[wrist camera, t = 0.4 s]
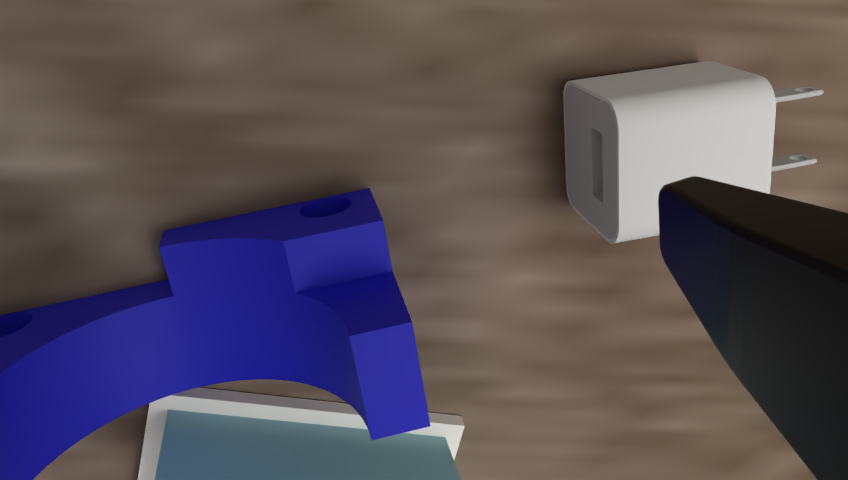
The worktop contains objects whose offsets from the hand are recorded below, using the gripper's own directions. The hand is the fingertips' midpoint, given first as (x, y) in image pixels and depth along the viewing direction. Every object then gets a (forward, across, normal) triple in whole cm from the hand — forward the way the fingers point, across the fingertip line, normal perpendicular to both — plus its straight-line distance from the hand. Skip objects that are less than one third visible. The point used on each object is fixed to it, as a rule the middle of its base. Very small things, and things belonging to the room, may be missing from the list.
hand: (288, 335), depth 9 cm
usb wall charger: (+14, -12, +7) cm, 19 cm away
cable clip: (+14, +4, +8) cm, 16 cm away
